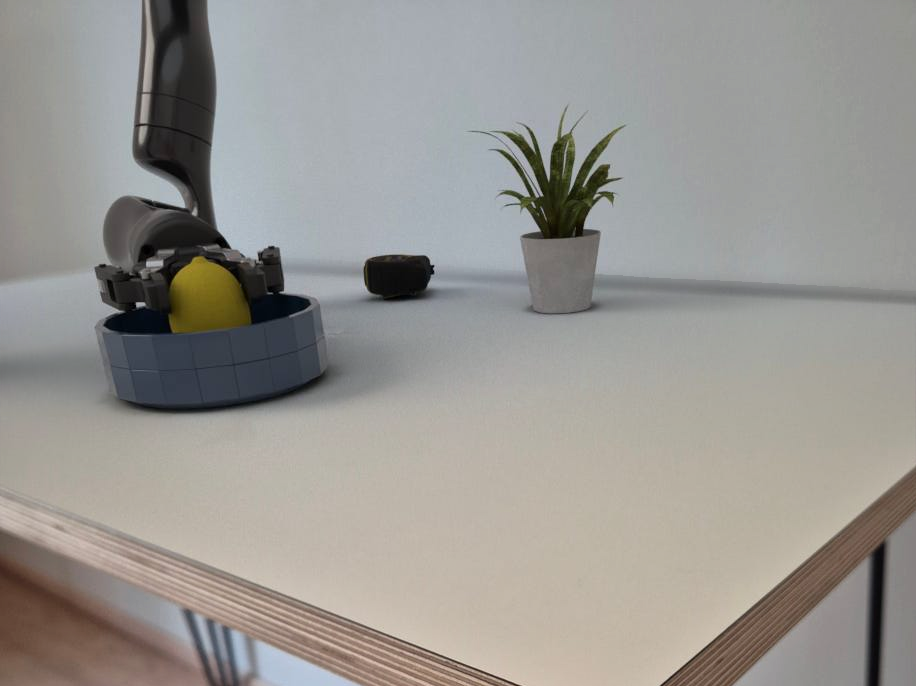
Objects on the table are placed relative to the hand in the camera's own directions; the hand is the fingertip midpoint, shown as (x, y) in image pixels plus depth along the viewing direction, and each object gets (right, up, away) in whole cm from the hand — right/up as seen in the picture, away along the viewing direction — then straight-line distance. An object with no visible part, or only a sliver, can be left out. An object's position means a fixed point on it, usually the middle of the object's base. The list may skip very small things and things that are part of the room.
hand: (209, 292), depth 64 cm
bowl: (-1, -5, +5) cm, 7 cm away
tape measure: (+11, +12, +34) cm, 38 cm away
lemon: (-1, -4, +5) cm, 7 cm away
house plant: (+24, +7, +23) cm, 34 cm away
